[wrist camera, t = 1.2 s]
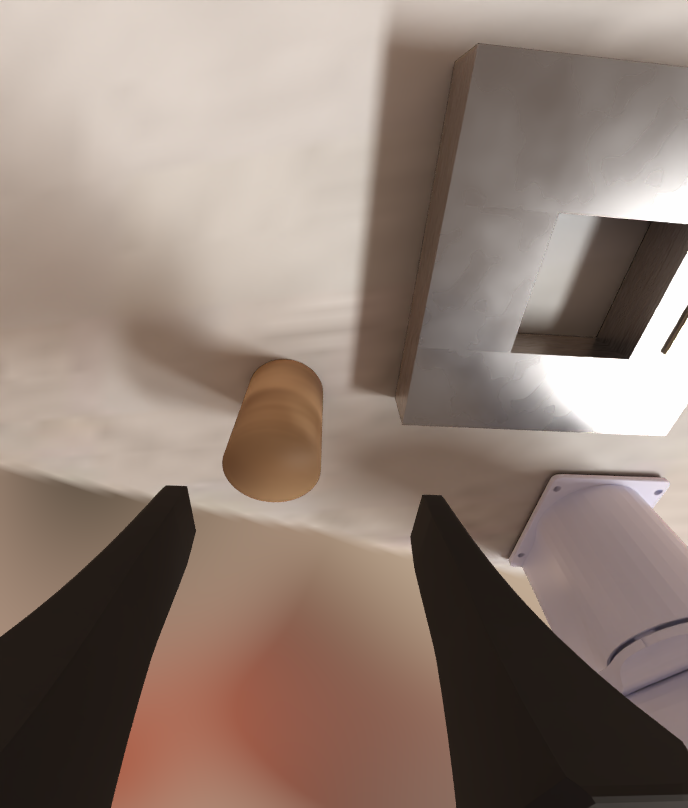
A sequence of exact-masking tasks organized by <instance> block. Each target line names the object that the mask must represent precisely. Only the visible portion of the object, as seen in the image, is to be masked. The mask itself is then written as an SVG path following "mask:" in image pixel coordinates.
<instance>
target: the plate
mask: <svg viewBox="0 0 688 808" xmlns="http://www.w3.org/2000/svg"><path fill="white" fill-rule="evenodd" d="M559 213H564V214H576V215H588V216H600V217H612V218H624V219H635V220H647V221H652V222H651V224H650V226H649V228H648V230H647V233H646V235H645V237H644V239H643V241H642V243H641V245H640V247H639V249H638V251H637V254H636V256H635V258H634V260H633V262H632V264H631V266H630V268H629V270H628V272H627V275H626V277H625V279H624V281H623V283H622V285H621V287H620V289H619V291H618V293H617V296H616V298H615V300H614V302H613V304H612V306H611V308H610V310H609V312H608V314H607V317H606V319H605V321H604V323H603V325H602V327H601V329H600V331H599V333H598V335H597V338H592V337H576V336H559V335H543V334H527V333H517V332H518V329H519V327H520V324H521V321H522V318H523V315H524V312H525V309H526V307H527V304H528V301H529V298H530V295H531V292H532V289H533V287H534V284H535V281H536V278H537V275H538V272H539V269H540V267H541V264H542V261H543V258H544V255H545V252H546V249H547V246H548V244H549V241H550V238H551V235H552V232H553V229H554V226H555V224H556V221H557V218H558V215H559ZM395 400H396V403H397V407H398V411H399V414H400V418H401V422H402V425H422V426H445V427H468V428H491V429H514V430H537V431H560V432H583V433H606V434H630V435H653V436H666V434H667V433H668V432H669V430H670V429H671V427H672V426H673V424H674V423H675V421H676V420H677V419H678V417H679V416H680V414H681V413H682V411H683V410H684V408H685V407H686V405H687V404H688V67H681V66H672V65H663V64H654V63H646V62H637V61H628V60H619V59H611V58H602V57H593V56H584V55H576V54H567V53H558V52H549V51H541V50H532V49H523V48H514V47H506V46H497V45H488V44H479V43H478V44H477V45H476V46H474V47H473V48H472V49H471V50H469V51H468V52H467V53H465V54H464V55H463V56H462V57H460V58H459V59H458V60H456V61H455V63H454V69H453V75H452V80H451V86H450V92H449V97H448V103H447V108H446V114H445V120H444V125H443V131H442V137H441V142H440V148H439V153H438V159H437V165H436V170H435V176H434V182H433V187H432V193H431V198H430V204H429V210H428V215H427V221H426V227H425V232H424V238H423V243H422V249H421V255H420V260H419V266H418V272H417V277H416V283H415V288H414V294H413V300H412V305H411V311H410V317H409V322H408V328H407V333H406V339H405V345H404V350H403V356H402V362H401V367H400V373H399V378H398V384H397V390H396V395H395Z"/></svg>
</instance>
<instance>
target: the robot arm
mask: <svg viewBox="0 0 688 808" xmlns="http://www.w3.org/2000/svg"><path fill="white" fill-rule="evenodd" d="M669 486H670V482H669V481H668V480H667V479H665V478H658V477H630V476H602V475H573V474H557V475H554V476H553V477H552V478H551V479H550V480H549V482H548V484H547V486H546V488H545V490H544V492H543V494H542V496H541V498H540V500H539V502H538V504H537V506H536V507H535V509H534V511H533V513H532V515H531V517H530V519H529V521H528V523H527V525H526V527H525V529H524V531H523V533H522V534H521V536H520V538H519V540H518V542H517V544H516V546H515V548H514V550H513V552H512V554H511V556H510V558H509V560H508V561H509V563H510V565H511V566H513V567H522V568H523V570H524V572H525V574H526V576H527V578H528V580H529V582H530V585H531V586H532V589H533V591H534V593H535V595H536V597H537V599H538V601H539V604H540V606H541V608H542V610H543V612H544V614H545V616H546V618H547V621H548V623H549V625H550V627H551V629H552V630H551V629H550V628H549V627H547V625H545V623H544V622H543V621H542V620H541V619H539V617H538V616H537V615H536V614H535V613H534V612H533V611H532V610H531V609H530V608H529V607H528V606H527V605H526V604H525V602H524V601H523V600H522V599H521V598H520V597H519V596H518V595H517V594H516V593H515V591H514V590H513V589H512V588H511V587H510V585H508V583H507V582H506V581H505V580H504V579H503V577H502V576H501V575H500V574H499V572H498V571H497V570H496V569H495V567H494V566H493V565H492V564H491V562H490V561H489V560H488V559H487V557H486V556H485V555H484V553H483V552H482V551H481V550H480V548H479V547H478V546H477V544H476V543H475V542H474V540H473V539H472V538H471V536H470V535H469V534H468V532H467V531H466V529H465V528H464V527H463V525H462V524H461V522H460V521H459V519H458V518H457V517H456V515H455V514H454V512H453V511H452V509H451V508H450V506H449V505H448V504H447V502H446V501H445V499H444V498H443V497H442V496H441V495H422V498H421V502H420V505H419V509H418V512H417V516H416V519H415V523H414V526H413V530H412V533H411V545H412V554H413V561H414V568H415V573H416V577H417V581H418V585H419V589H420V594H421V598H422V602H423V605H424V610H425V613H426V618H427V622H428V626H429V629H430V634H431V638H432V642H433V646H434V651H435V656H436V660H437V666H438V673H439V679H440V685H441V692H442V698H443V705H444V712H445V719H446V726H447V733H448V740H449V748H450V756H451V765H452V772H453V781H454V790H455V799H456V808H688V547H687V546H686V545H685V543H684V542H683V541H682V540H681V539H680V538H679V537H678V536H677V535H676V534H675V533H674V531H673V530H672V529H671V528H670V527H669V526H668V525H667V524H666V523H665V522H664V521H663V520H662V518H661V517H660V516H659V515H658V514H657V513H656V512H655V511H654V510H653V507H654V506H655V505H656V503H657V502H658V501H659V499H660V498H661V497H662V496H663V494H664V493H665V492H666V490H667V489H668V488H669ZM195 532H196V529H195V524H194V519H193V514H192V509H191V504H190V499H189V494H188V489H187V486H165V487H164V488H162V490H161V491H160V492H159V493H158V494H157V495H156V496H155V497H154V498H153V499H152V500H151V501H150V502H149V504H148V505H147V506H146V507H145V508H144V509H143V510H142V511H141V512H140V513H139V514H138V515H137V516H136V517H135V519H134V520H133V521H132V522H131V523H130V524H129V525H128V526H127V527H126V528H125V529H124V530H123V531H122V532H121V533H120V534H119V535H118V536H117V537H116V538H115V539H114V540H113V541H112V542H111V543H110V544H109V545H108V546H107V547H106V548H105V549H104V550H103V551H102V552H101V553H100V554H99V555H98V556H96V557H95V558H94V559H93V560H92V561H91V562H90V563H89V564H88V565H87V566H86V567H85V568H84V569H82V570H81V571H80V572H79V573H78V574H77V575H76V576H75V577H74V578H73V579H71V580H70V581H69V582H68V583H67V584H66V585H65V586H63V587H62V588H61V589H60V590H59V591H58V592H56V593H55V594H54V595H53V596H52V597H50V598H49V599H48V600H47V601H46V602H44V603H43V604H42V605H41V606H40V607H38V608H37V609H36V610H35V611H33V612H32V613H31V614H30V615H28V616H27V617H26V618H24V619H23V620H22V621H21V622H19V623H18V624H17V625H15V626H14V627H13V628H12V629H10V630H9V631H8V632H6V633H5V634H4V635H2V636H1V637H0V808H111V805H112V801H113V797H114V792H115V788H116V785H117V781H118V777H119V773H120V769H121V765H122V761H123V757H124V753H125V749H126V745H127V741H128V738H129V734H130V731H131V727H132V723H133V720H134V716H135V713H136V709H137V705H138V702H139V698H140V695H141V691H142V688H143V684H144V681H145V678H146V674H147V671H148V667H149V664H150V661H151V657H152V655H153V652H154V649H155V646H156V643H157V640H158V638H159V636H160V633H161V630H162V628H163V625H164V623H165V620H166V618H167V615H168V612H169V610H170V607H171V605H172V602H173V599H174V597H175V595H176V592H177V590H178V587H179V584H180V582H181V579H182V576H183V574H184V571H185V569H186V566H187V563H188V559H189V555H190V552H191V548H192V544H193V540H194V536H195Z"/></svg>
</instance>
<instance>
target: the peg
mask: <svg viewBox="0 0 688 808" xmlns="http://www.w3.org/2000/svg"><path fill="white" fill-rule="evenodd" d="M322 412H323V388H322V384H321V381H320V379H319V377H318V376H317V375H316V373H315V372H314V371H313V370H312V369H310V368H309V367H308V366H306V365H304V364H302V363H300V362H297V361H294V360H288V359H280V360H274V361H270V362H268V363H266V364H264V365H262V366H261V367H259V368H258V369H257V370H256V371H255V373H254V374H253V376H252V378H251V380H250V383H249V386H248V389H247V391H246V394H245V397H244V400H243V403H242V405H241V408H240V411H239V414H238V417H237V419H236V422H235V425H234V428H233V431H232V433H231V436H230V439H229V442H228V444H227V447H226V450H225V453H224V456H223V461H222V464H223V471H224V474H225V476H226V478H227V479H228V481H229V482H230V483H231V485H232V486H233V487H234V488H236V489H237V490H238V491H240V492H241V493H243V494H244V495H246V496H249V497H251V498H254V499H257V500H261V501H266V502H284V501H289V500H293V499H296V498H299V497H301V496H303V495H305V494H306V493H308V492H309V491H310V490H311V489H312V488H313V487H314V486H315V485H316V483H317V481H318V479H319V476H320V472H321V445H322Z"/></svg>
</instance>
